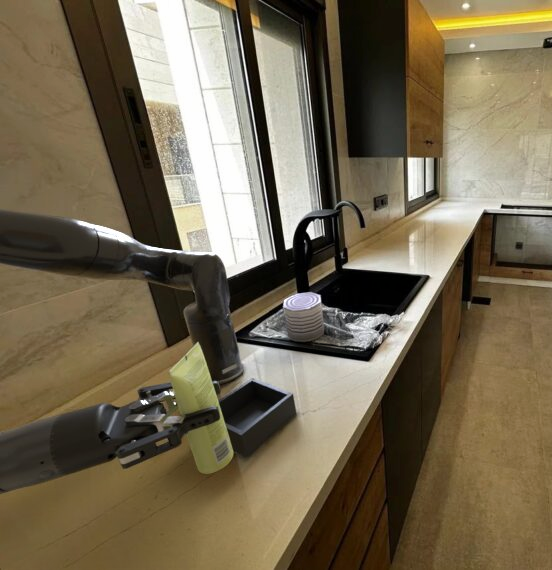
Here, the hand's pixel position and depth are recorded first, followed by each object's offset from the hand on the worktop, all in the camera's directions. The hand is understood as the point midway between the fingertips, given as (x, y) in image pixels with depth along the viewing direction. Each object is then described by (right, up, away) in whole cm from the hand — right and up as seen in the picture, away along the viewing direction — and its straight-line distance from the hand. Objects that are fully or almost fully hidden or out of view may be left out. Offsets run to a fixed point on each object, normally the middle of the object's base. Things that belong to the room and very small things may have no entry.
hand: (218, 399), depth 49 cm
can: (-8, +1, +57) cm, 58 cm away
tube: (-2, -11, +3) cm, 11 cm away
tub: (-6, -13, +21) cm, 25 cm away
